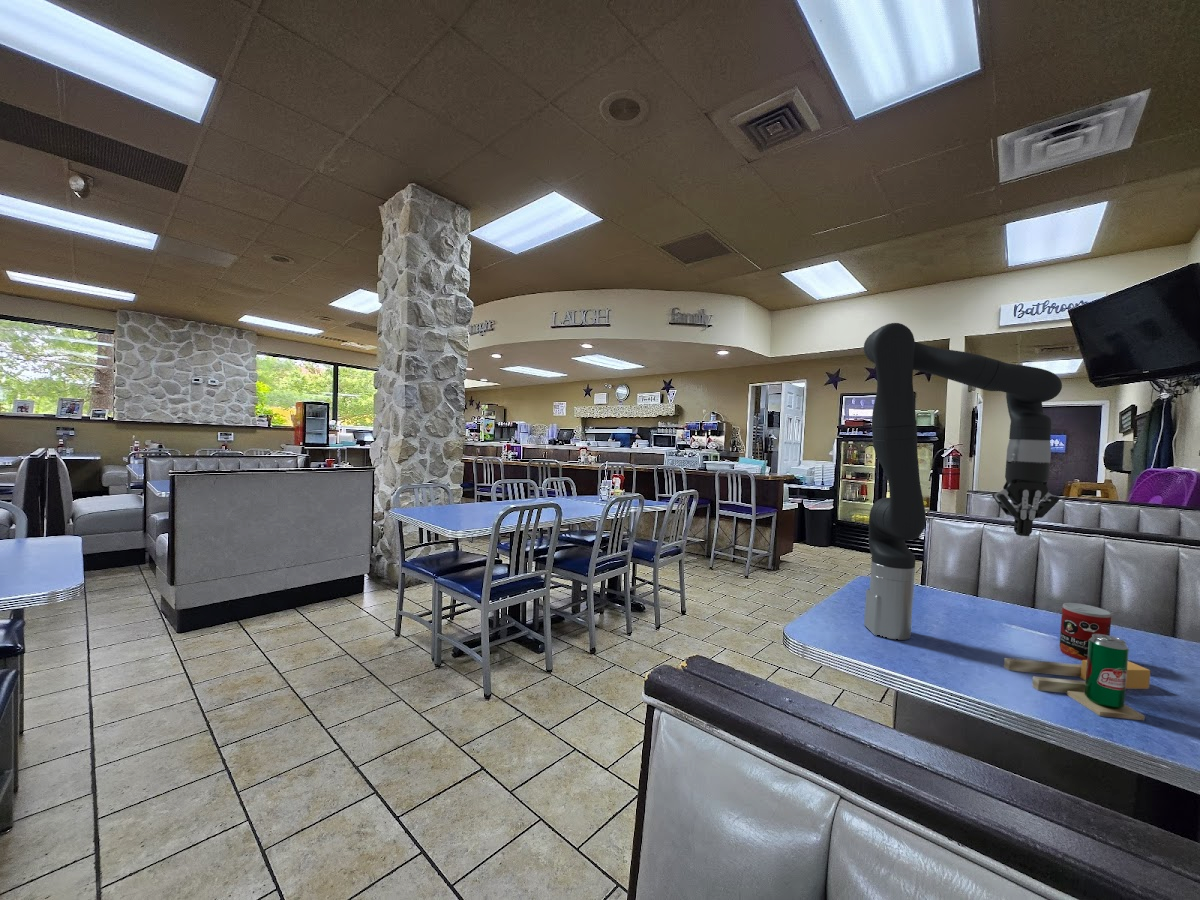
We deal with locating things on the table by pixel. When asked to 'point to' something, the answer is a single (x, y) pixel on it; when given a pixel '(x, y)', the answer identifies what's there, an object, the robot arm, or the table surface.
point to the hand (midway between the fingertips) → (1022, 535)
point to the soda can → (1106, 671)
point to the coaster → (1105, 708)
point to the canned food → (1081, 628)
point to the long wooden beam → (1129, 675)
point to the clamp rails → (1049, 668)
